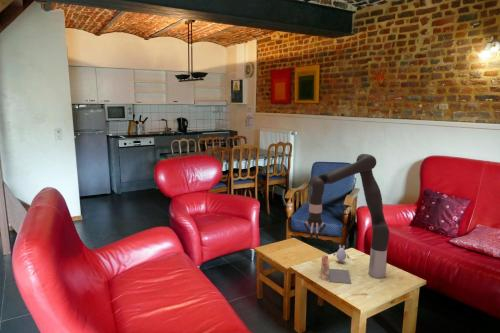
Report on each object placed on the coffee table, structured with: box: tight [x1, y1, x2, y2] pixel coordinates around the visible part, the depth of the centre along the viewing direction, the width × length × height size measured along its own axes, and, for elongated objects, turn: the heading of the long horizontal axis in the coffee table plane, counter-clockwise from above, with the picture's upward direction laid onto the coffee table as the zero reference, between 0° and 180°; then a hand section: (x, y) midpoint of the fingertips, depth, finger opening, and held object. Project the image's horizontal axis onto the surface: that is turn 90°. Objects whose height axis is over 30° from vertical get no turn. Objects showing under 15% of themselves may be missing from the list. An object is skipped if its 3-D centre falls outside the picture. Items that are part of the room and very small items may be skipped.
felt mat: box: [328, 268, 352, 285], centre depth 216 cm, size 13×16×1 cm
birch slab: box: [320, 255, 330, 281], centre depth 216 cm, size 4×12×10 cm, turn 172°
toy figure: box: [332, 244, 350, 264], centre depth 232 cm, size 11×6×12 cm, turn 65°
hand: (313, 238), depth 213 cm, fingers closed
